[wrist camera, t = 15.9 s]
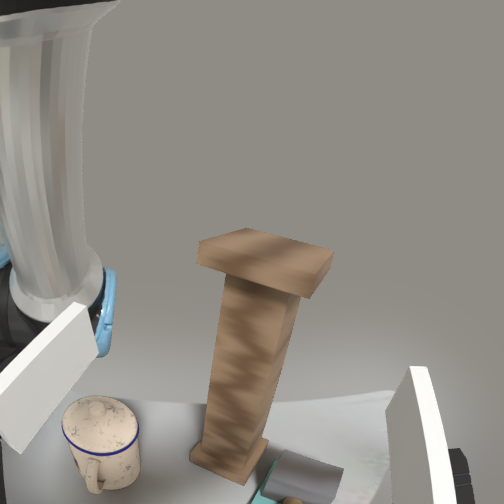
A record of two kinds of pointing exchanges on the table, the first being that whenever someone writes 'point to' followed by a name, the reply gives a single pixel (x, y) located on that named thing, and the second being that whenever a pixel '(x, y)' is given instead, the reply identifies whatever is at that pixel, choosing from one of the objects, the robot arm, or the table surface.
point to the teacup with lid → (103, 442)
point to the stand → (251, 340)
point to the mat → (259, 501)
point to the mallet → (302, 481)
